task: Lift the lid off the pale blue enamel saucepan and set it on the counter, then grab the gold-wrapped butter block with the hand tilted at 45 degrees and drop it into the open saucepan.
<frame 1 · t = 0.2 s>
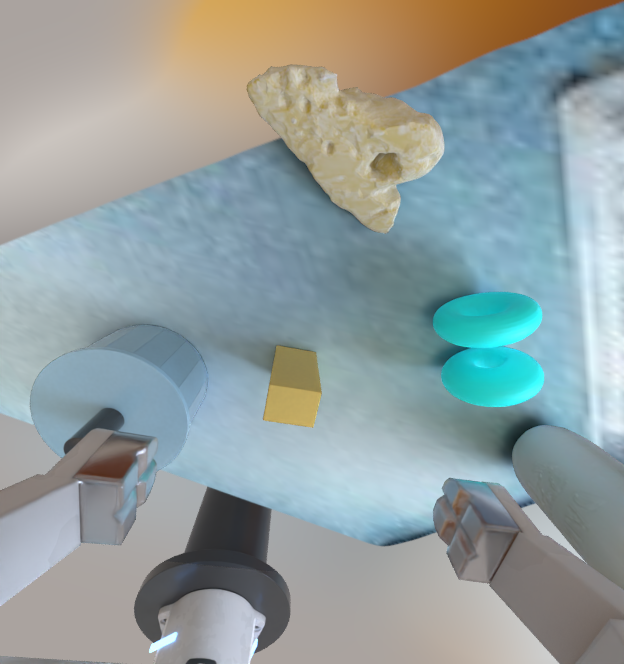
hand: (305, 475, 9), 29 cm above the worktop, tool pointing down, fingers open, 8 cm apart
donuts: (462, 331, 39), on the worktop
grey bottle: (530, 440, 44), on the worktop
pot: (152, 376, 38), on the worktop
butter: (293, 362, 39), on the worktop
pot lid: (114, 415, 30), point 8 cm above the worktop, touching pot
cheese: (334, 162, 32), on the worktop
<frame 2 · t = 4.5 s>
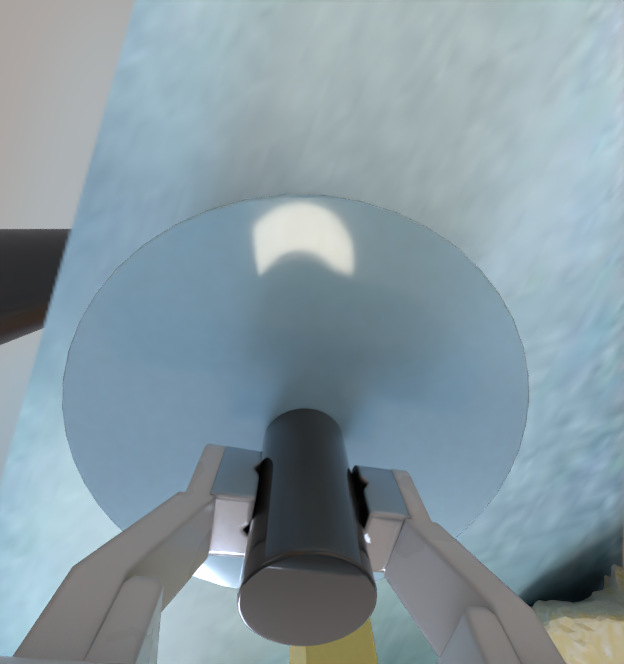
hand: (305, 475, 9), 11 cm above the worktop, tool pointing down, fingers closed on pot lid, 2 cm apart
butter: (322, 551, 24), on the worktop
pot lid: (303, 430, 10), point 9 cm above the worktop, touching gripper, pot
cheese: (578, 576, 27), on the worktop
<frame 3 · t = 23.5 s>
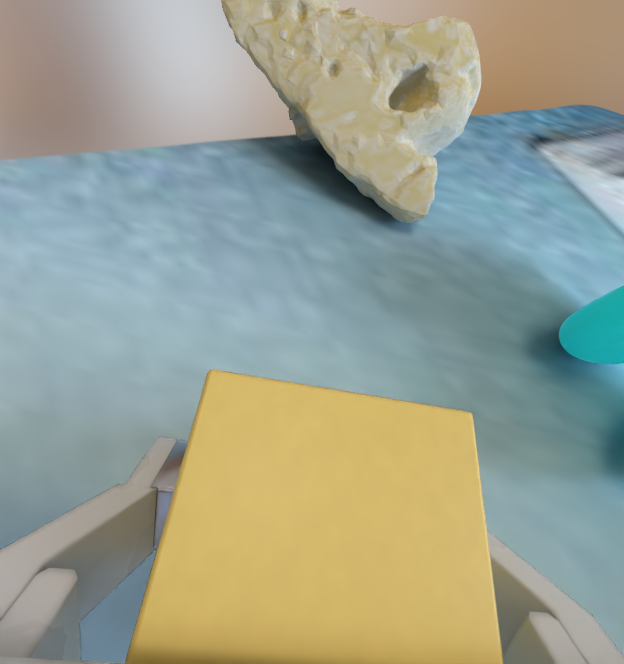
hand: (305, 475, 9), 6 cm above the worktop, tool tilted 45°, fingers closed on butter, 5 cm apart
donuts: (613, 391, 19), on the worktop
butter: (281, 494, 14), on the worktop, touching gripper
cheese: (327, 165, 24), on the worktop
when the fingers open (11 cm above the worktop, at t = 32.6 s): butter drops 5 cm, resting on pot.
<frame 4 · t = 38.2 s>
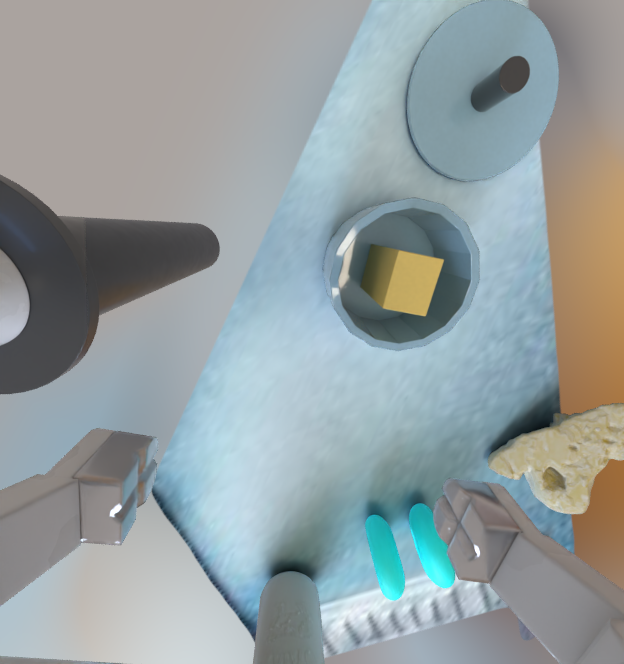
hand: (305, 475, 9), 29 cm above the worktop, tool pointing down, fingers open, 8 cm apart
donuts: (396, 516, 49), on the worktop
grey bottle: (290, 577, 52), on the worktop
pot: (381, 268, 36), on the worktop
butter: (382, 269, 35), resting on pot
pot lid: (480, 99, 30), point 1 cm above the worktop
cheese: (534, 424, 44), on the worktop
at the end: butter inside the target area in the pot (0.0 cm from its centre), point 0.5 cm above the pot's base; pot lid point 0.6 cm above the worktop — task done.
